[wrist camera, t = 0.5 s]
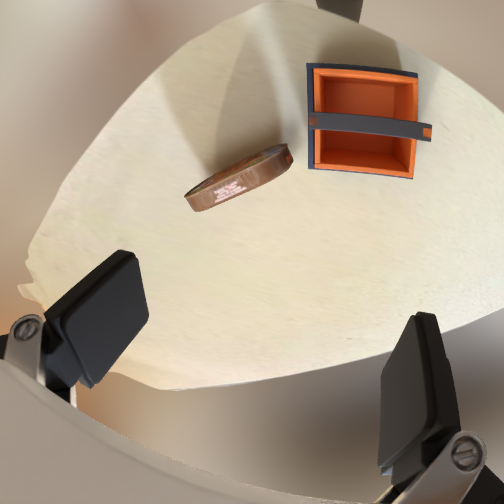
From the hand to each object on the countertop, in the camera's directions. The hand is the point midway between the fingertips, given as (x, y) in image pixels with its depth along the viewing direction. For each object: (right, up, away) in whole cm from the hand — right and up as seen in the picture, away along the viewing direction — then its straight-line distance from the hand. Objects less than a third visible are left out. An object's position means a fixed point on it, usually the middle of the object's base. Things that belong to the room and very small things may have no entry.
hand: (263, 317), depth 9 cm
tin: (-1, +13, +31) cm, 34 cm away
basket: (+13, +19, +22) cm, 32 cm away
